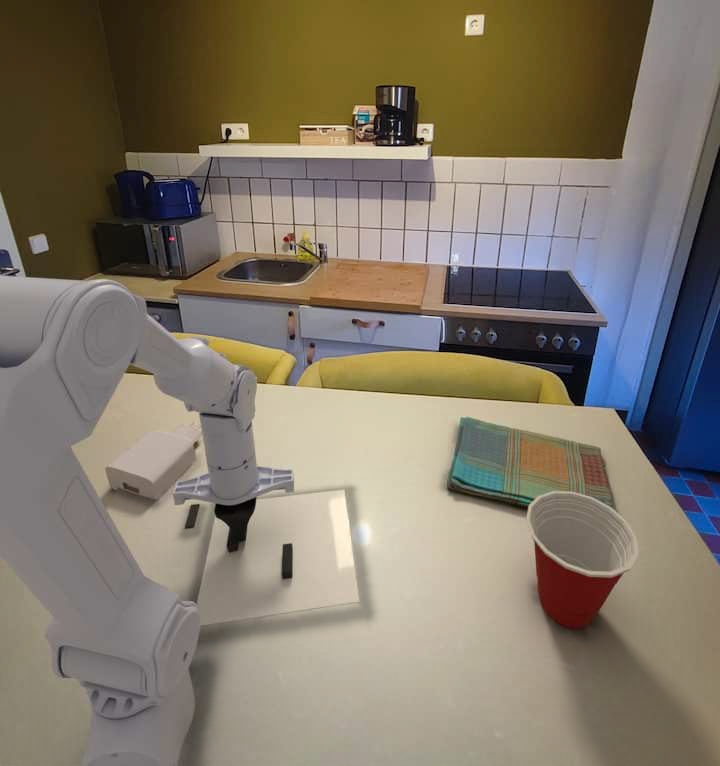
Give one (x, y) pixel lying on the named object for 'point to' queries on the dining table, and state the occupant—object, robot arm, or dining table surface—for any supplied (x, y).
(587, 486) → the dish towel
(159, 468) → the charger
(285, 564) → the ink strip
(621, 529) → the plastic cup
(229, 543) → the ink strip
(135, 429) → the dining table surface
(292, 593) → the whiteboard
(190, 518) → the ink strip
